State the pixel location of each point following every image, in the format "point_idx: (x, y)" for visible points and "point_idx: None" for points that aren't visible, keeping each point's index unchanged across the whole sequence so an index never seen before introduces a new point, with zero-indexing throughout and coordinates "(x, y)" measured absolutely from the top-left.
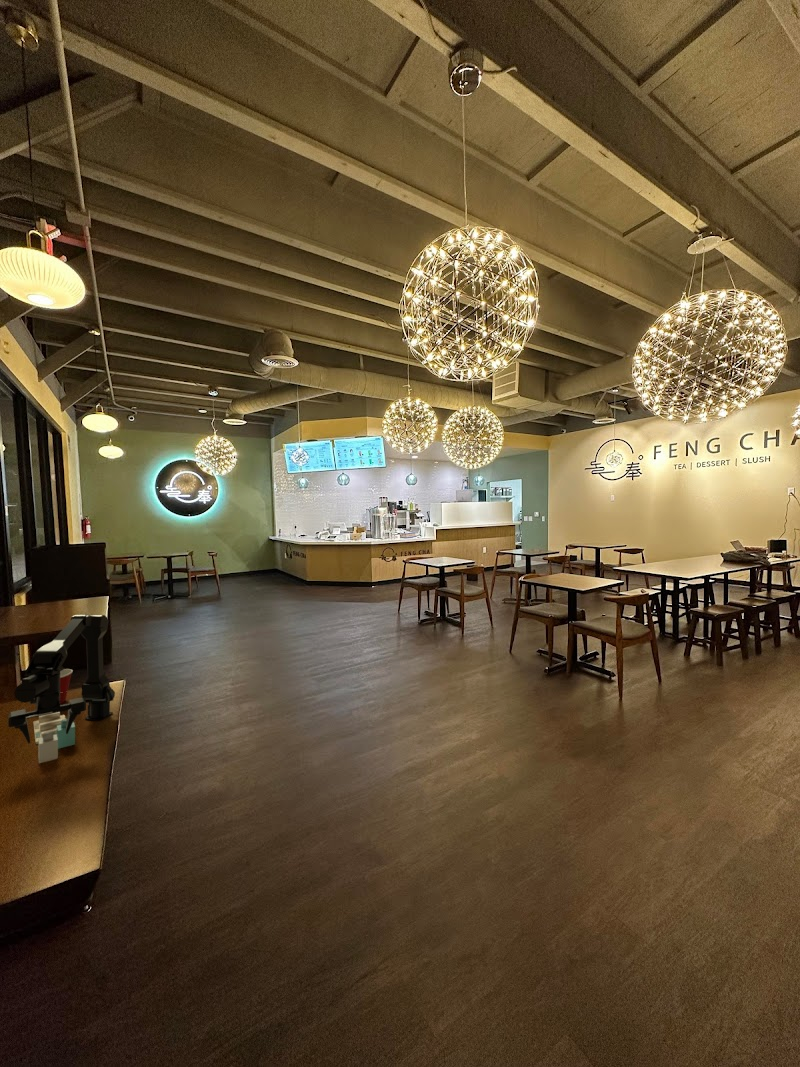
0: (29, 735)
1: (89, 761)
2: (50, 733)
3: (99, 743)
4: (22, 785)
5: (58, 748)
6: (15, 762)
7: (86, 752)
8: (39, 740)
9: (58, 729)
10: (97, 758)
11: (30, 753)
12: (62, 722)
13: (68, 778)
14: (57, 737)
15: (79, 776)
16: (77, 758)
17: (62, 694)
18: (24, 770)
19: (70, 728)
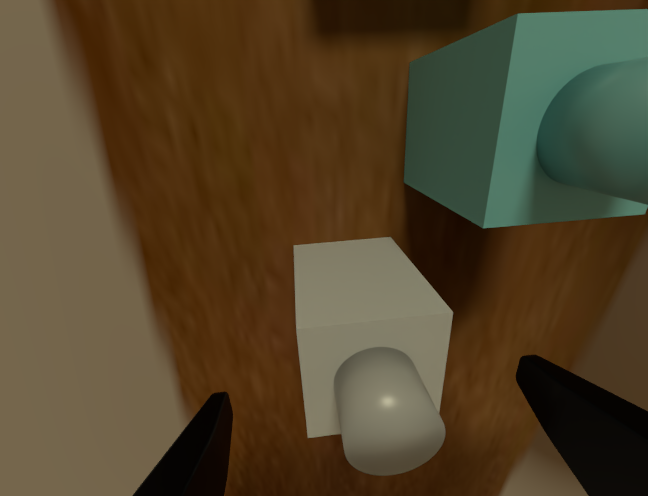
0: (208, 494)
1: (493, 409)
2: (412, 461)
3: (602, 250)
4: (253, 472)
5: (407, 182)
6: (168, 244)
7: (513, 323)
8: (307, 374)
9: (496, 190)
10: (526, 400)
11: (239, 148)
12: (617, 183)
13: (401, 486)
14: (439, 147)
15: (434, 488)
16: (463, 363)
17: None
18: (240, 364)
19: (593, 217)
